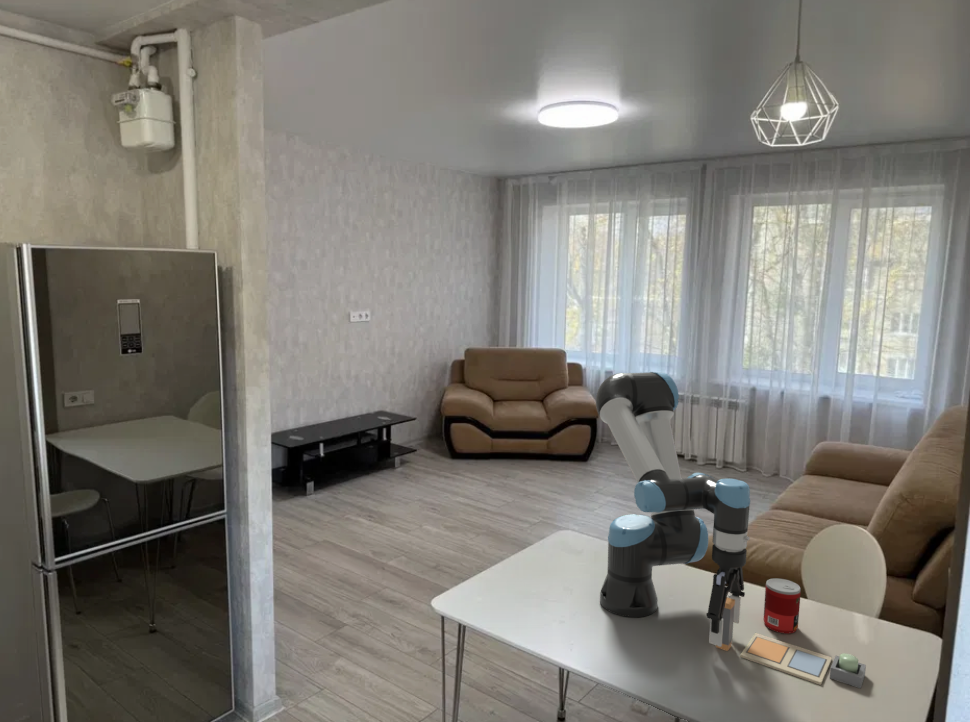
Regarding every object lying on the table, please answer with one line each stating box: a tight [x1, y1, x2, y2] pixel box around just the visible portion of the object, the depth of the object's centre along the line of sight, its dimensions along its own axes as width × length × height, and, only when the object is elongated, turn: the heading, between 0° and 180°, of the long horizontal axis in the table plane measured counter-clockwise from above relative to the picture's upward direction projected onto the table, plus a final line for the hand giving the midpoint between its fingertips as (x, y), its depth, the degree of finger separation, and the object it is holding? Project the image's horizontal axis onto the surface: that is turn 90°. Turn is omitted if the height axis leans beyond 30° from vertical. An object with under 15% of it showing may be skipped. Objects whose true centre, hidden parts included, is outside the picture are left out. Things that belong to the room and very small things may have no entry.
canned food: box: [763, 577, 802, 635], centre depth 166 cm, size 8×8×11 cm
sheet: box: [739, 632, 833, 686], centre depth 152 cm, size 17×12×1 cm
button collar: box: [829, 655, 867, 689], centre depth 145 cm, size 6×6×2 cm
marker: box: [715, 596, 735, 652], centre depth 156 cm, size 3×3×12 cm
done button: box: [839, 653, 859, 674], centre depth 145 cm, size 4×4×3 cm
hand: (724, 632), depth 156 cm, fingers open, 12 cm apart
